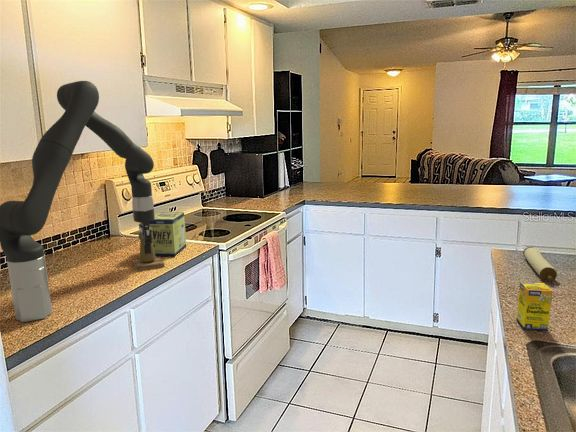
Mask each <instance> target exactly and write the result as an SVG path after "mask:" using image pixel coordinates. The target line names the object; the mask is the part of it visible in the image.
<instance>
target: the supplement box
mask: <svg viewBox="0 0 576 432" xmlns="http://www.w3.org/2000/svg"><path fill="white" fill-rule="evenodd" d="M518 293H519V294H518V299H517V300H518V301H517V310H516V321H517V323H518V324H519V325H520V327H521V328H522V329H523V330H525V331H527V330H528V331H529V330H530V331H531V330H533V331H543V332H548V331H549V324H550V323H549V322H550V315H551V307H552V306H551V305H552V298H553V296H552V295H553V290H552V289H551V288H550V287H549V286H548V285H547V284H546V283H545V282H524V281H520V282H519V291H518Z"/></svg>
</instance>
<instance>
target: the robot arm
mask: <svg viewBox="0 0 576 432" xmlns="http://www.w3.org/2000/svg"><path fill="white" fill-rule="evenodd" d="M56 99H57V102H58V104H59V105H60V107H61V108H62V109H63V110H64V112H63V114H62V115H61V116H60V117H59V118H58V120H57V121H55V123H53V124H52V125H51V126H50V127H49V128H48V130H46V131H45V132H44V134H43V135H42V136H41V138H40V139H39V142H38V143H37V146H36V148H35V150H34V152H33V154H32V158H31V165H32V174H33V182H32V185H31V187H30V190H29V192H28V194H27V196H26V198H25V199H24V200H7V201H5V202H3V203H1V204H0V248H1V251H2V253H4V255H5V257H6V262H7V271H8V276H9V282H10V283H9V284H10V289H11V296H12V302H13V303H12V304H13V308H14V315H15V320H17V321H19V322H20V323H27V322H31V321H38V320H43V319H46V318H47V317H48V316H49V315H51V314H52V313H53V306H52V299H51V293H50V285H49V278H48V272H47V265H46V257H45V250H44V246H43V244H41V243H39V242H38V241H36V240H35V239H34V238H33V237H32V236H34V235H36V234H38V233H39V232H41V230H42V229H43V228H44V226H45V224H46V222H47V221H48V217H49V213H50V211H51V206H52V204H53V201H54V198H55V196H56V195H55V194H56V192H57V191H58V190H57V189H58V187H59V186H60V182H61V180H62V177H63V175H64V173H65V171H66V169H67V167H68V165H69V163H70V160H71V158H72V155H73V153H74V151H75V149H76V146H77V144H78V142H79V140H80V138H81V136H82V133H83V131H84V129H85V127H86V128H87V129H89V130H90V131H92V133H94V134H95V135H96V136H97V137H98V138H100V140H102V141H103V142H104V143H105V144H106V145H107V146H108V147H109V148H110V150H112V151H113V152H114V154H116V155H117V156H118V157H119V158H122V159H125V162H124V169H125V173H126V175H127V178H128V181H129V183H130V186H131V189H130V190H131V196H132V197H131V204H132V205H131V206H132V207H131V208H132V216H133V217H132V218H133V221H134V222H135V223H138V229H139V233H140V232H141V235H142V239H143V241H144V248H145V254H146V255H147V253H149V254H151V244H152V230H151V226H150V224H149V222H150V221H153V220H154V219H155V216H156V215H155V205H154V204H155V203H154V199H153V191H152V182H151V181H150V180H148V179H147V178H145V176H144V175H145V174H149V173H151V172H152V171H153V170H154V168H155V165H154V164H155V162H154V159H153V158H152V157H151V155H150V154H149V153H148V152H147V151H146V150H144V149H143V148H141V146H138V145H137V144H135V143H134V142H133V141H132V140H131V138H130V137H129V136H128V135H127V134H126V133H125V131H123V130H122V129H121V128H120V127H119V126H117V125H115V124H114V123H112V122H111V121H109V120H107V119H105V118H103V117H102V116H101V115H100V114H98V113H97V112H96V109H97V107H98V105H99V100H100V95H99V90H98V88H97V86H96V85H95V84H94V83H92V82H91V81H88V80H78V81H77V80H76V81H74V82H73V81H72V82H69V83H65V84H63V85H61V86H60V87H58V89H57V92H56ZM143 234H144V236H143ZM146 239H149V241H146Z"/></svg>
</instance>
